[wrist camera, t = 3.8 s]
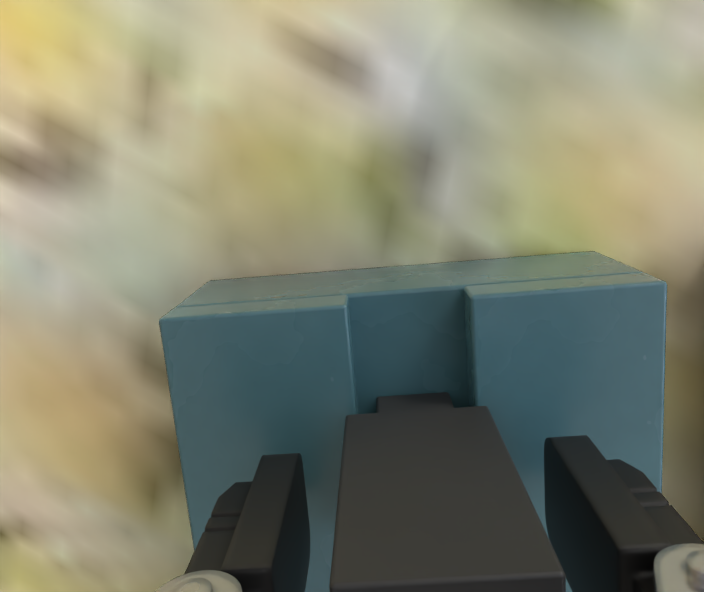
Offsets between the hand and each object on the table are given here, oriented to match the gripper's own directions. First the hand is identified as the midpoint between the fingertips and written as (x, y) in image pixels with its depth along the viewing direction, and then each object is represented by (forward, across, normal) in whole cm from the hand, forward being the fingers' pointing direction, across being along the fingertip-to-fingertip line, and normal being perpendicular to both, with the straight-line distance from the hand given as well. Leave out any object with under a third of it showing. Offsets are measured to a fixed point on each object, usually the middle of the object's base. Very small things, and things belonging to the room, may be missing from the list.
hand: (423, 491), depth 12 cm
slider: (+2, 0, 0) cm, 2 cm away
